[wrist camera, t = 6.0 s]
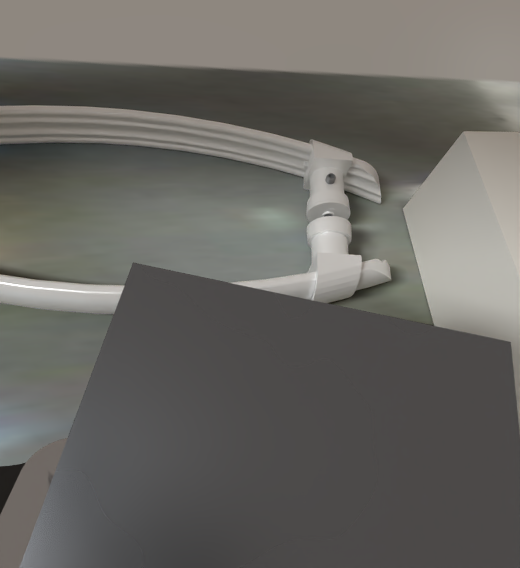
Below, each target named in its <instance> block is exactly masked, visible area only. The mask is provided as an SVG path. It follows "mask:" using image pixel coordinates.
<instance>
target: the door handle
mask: <svg viewBox="0 0 520 568" xmlns="http://www.w3.org/2000/svg"><path fill="white" fill-rule="evenodd" d="M29 143H101V144H117V145H133V146H144V147H153V148H161V149H170V150H179V151H186V152H192V153H198V154H204V155H210V156H216V157H222V158H227V159H232V160H236V161H241V162H245V163H250V164H255V165H259V166H264V167H268V168H272V169H275V170H279V171H283V172H286V173H290V174H293V175H297V176H301V177H304V190H310V198H309V199H308V201H307V213H306V215H307V220H308V221H309V222H310V223H309V224H308V226H307V240H308V245H309V246H310V247H311V250H312V264H311V266H310V268H309V270H308V272H307V273H304V274H297V275H291V276H284V277H278V278H271V279H263V280H252V281H241V282H230V283H232V284H237V285H242V286H247V287H252V288H256V289H261V290H266V291H271V292H275V293H280V294H285V295H290V296H294V297H299V298H304V299H309V300H313V301H318V302H323V303H330V302H334V301H337V300H341V299H345V298H349V297H351V296H352V295H353V294H354V292H355V290H360V289H364V288H368V287H371V286H375V285H378V284H381V283H384V282H388V281H391V273H390V265H389V264H388V263H387V261H386V260H382V261H380V260H379V259H373V260H368V261H364V262H362V259H361V255H350V254H349V253H348V245H349V244H350V243H351V223H350V222H349V221H348V220H347V219H348V218H349V217H350V206H349V200H348V197H347V196H346V195H345V194H344V191H347V192H350V193H353V194H355V195H358V196H361V197H363V198H366V199H368V200H371V201H373V202H376V203H378V204H380V203H381V190H380V182H379V177H378V174H377V172H376V170H375V169H374V168H373V167H372V166H371V165H370V164H369V163H367V162H365V161H363V160H360V159H357V158H354V157H352V153H351V152H348V151H345V150H342V149H339V148H336V147H333V146H331V145H328V144H325V143H322V142H319V141H316V140H313V139H311V140H310V141H309V143H305V142H302V141H298V140H294V139H291V138H287V137H283V136H280V135H276V134H272V133H268V132H263V131H259V130H254V129H250V128H245V127H240V126H236V125H231V124H227V123H221V122H215V121H209V120H203V119H197V118H191V117H185V116H179V115H171V114H163V113H154V112H146V111H138V110H129V109H114V108H100V107H86V106H44V105H24V106H0V145H2V144H29ZM124 286H125V285H95V284H80V283H68V282H57V281H46V280H35V279H28V278H21V277H15V276H8V275H1V274H0V303H3V304H10V305H16V306H23V307H30V308H37V309H43V310H55V311H67V312H78V313H90V314H114V312H115V310H116V307H117V304H118V302H119V299H120V296H121V294H122V291H123V288H124Z"/></svg>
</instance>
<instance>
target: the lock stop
mask: <svg viewBox="0 0 520 568" xmlns="http://www.w3.org/2000/svg"><path fill="white" fill-rule="evenodd" d="M19 568H520V431H519V421H518V410H517V400H516V390H515V379H514V369H513V359H512V348H511V342H509V341H504V340H499V339H494V338H490V337H485V336H480V335H475V334H471V333H466V332H461V331H456V330H452V329H447V328H442V327H437V326H432V325H428V324H423V323H418V322H413V321H409V320H404V319H399V318H394V317H390V316H385V315H380V314H375V313H371V312H366V311H361V310H356V309H352V308H347V307H342V306H337V305H332V304H328V303H323V302H318V301H313V300H309V299H304V298H299V297H294V296H290V295H285V294H280V293H275V292H271V291H266V290H261V289H256V288H252V287H247V286H242V285H237V284H232V283H228V282H223V281H218V280H213V279H209V278H204V277H199V276H194V275H190V274H185V273H180V272H175V271H171V270H166V269H161V268H156V267H151V266H147V265H142V264H137V263H133V264H132V267H131V270H130V272H129V275H128V278H127V280H126V283H125V286H124V288H123V291H122V294H121V296H120V299H119V302H118V304H117V307H116V310H115V312H114V315H113V318H112V321H111V323H110V326H109V329H108V331H107V334H106V337H105V339H104V342H103V345H102V347H101V350H100V353H99V355H98V358H97V361H96V363H95V366H94V369H93V371H92V374H91V377H90V380H89V382H88V385H87V388H86V390H85V393H84V396H83V398H82V401H81V404H80V406H79V409H78V412H77V414H76V417H75V420H74V422H73V425H72V428H71V430H70V433H69V436H68V438H67V441H66V444H65V447H64V449H63V452H62V455H61V457H60V460H59V463H58V465H57V468H56V471H55V473H54V476H53V479H52V481H51V484H50V487H49V489H48V492H47V495H46V497H45V500H44V503H43V506H42V508H41V511H40V514H39V516H38V519H37V522H36V524H35V527H34V530H33V532H32V535H31V538H30V540H29V543H28V546H27V548H26V551H25V554H24V556H23V559H22V562H21V564H20V567H19Z"/></svg>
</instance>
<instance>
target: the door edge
mask: <svg viewBox="0 0 520 568" xmlns="http://www.w3.org/2000/svg"><path fill="white" fill-rule="evenodd" d="M403 212H404V216H405V219H406V223H407V227H408V231H409V234H410V238H411V242H412V245H413V249H414V253H415V256H416V260H417V264H418V268H419V271H420V275H421V279H422V282H423V286H424V290H425V294H426V297H427V301H428V305H429V308H430V312H431V316H432V319H433V323H434V326H437V327H442V328H447V329H452V330H456V331H461V332H466V333H471V334H475V335H480V336H485V337H490V338H494V339H499V340H504V341H509V342H511V348H512V359H513V369H514V379H515V390H516V400H517V410H518V421H519V431H520V132H486V131H463V132H462V134H461V135H460V136H459V137H458V139H457V140H456V141H455V143H454V144H453V145H452V146H451V148H450V149H449V150H448V152H447V153H446V154H445V155H444V157H443V158H442V159H441V161H440V162H439V163H438V164H437V166H436V167H435V168H434V170H433V171H432V172H431V173H430V175H429V176H428V177H427V179H426V180H425V181H424V182H423V184H422V185H421V186H420V187H419V189H418V190H417V191H416V193H415V194H414V195H413V196H412V198H411V199H410V200H409V202H408V203H407V204H406V205H405V207H404V208H403Z"/></svg>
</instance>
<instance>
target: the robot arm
mask: <svg viewBox="0 0 520 568" xmlns="http://www.w3.org/2000/svg"><path fill="white" fill-rule="evenodd" d="M66 441H67V438H65V439H61V440H58V441H55V442H53V443H51V444H49V445H47V446H45V447H43V448H42V449H40V450H39V451H37V452H36V453H35V454H34V455H33V456H32V457H31V458H29V460H28V461H27V462H26V463H23V464H19V465H12V466H2V467H0V568H19V567H20V564H21V562H22V559H23V556H24V554H25V551H26V548H27V546H28V543H29V540H30V538H31V535H32V532H33V530H34V527H35V524H36V522H37V519H38V516H39V514H40V511H41V508H42V506H43V503H44V500H45V497H46V495H47V492H48V489H49V487H50V484H51V481H52V479H53V476H54V473H55V471H56V468H57V465H58V463H59V460H60V457H61V455H62V452H63V449H64V447H65V444H66Z"/></svg>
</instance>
